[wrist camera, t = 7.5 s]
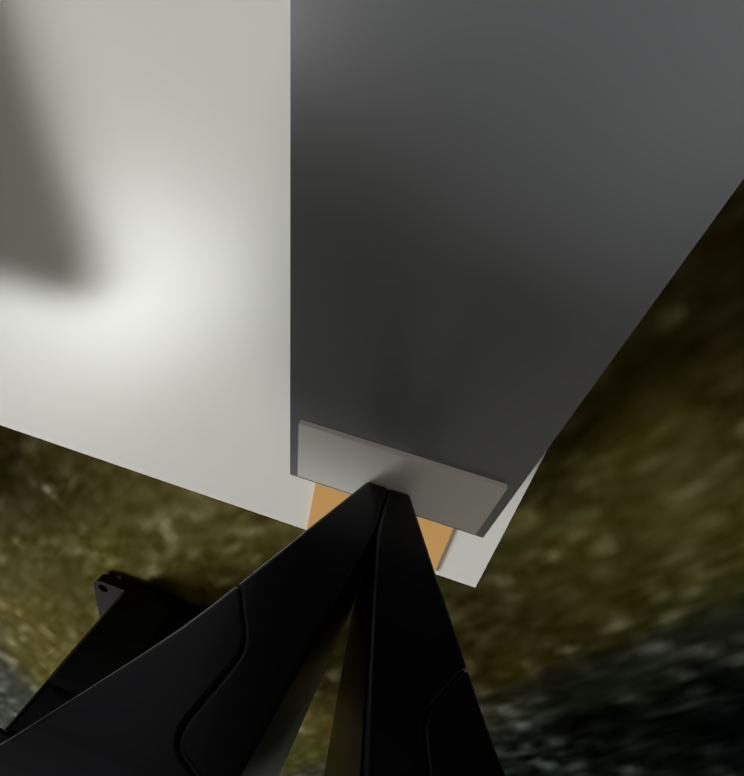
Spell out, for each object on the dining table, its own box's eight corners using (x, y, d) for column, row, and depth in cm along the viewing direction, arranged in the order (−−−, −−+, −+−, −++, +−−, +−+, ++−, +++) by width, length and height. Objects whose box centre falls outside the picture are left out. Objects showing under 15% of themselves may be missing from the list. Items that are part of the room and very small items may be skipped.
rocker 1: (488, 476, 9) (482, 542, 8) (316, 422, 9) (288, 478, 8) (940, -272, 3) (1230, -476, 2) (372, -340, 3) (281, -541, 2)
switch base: (475, 510, 14) (475, 630, 10) (-37, 345, 16) (-194, 393, 12) (827, -261, 6) (1365, -940, 2) (-253, -391, 8) (-861, -872, 4)
